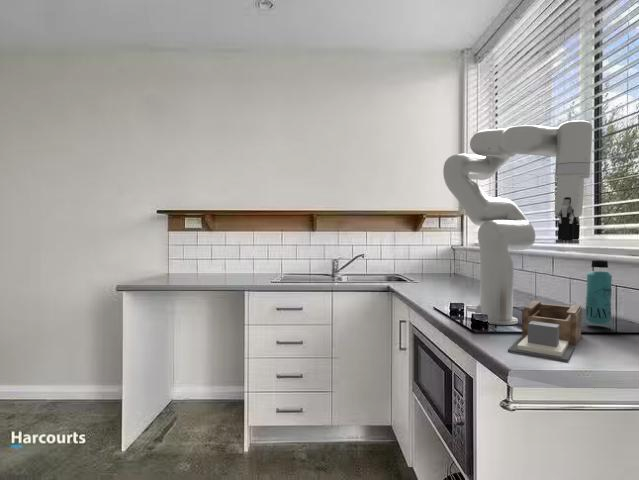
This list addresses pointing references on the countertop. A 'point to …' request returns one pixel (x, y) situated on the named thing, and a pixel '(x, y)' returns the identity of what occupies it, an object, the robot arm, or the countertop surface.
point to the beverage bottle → (598, 294)
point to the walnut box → (555, 319)
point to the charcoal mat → (564, 357)
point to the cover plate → (543, 348)
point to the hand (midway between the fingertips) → (568, 239)
